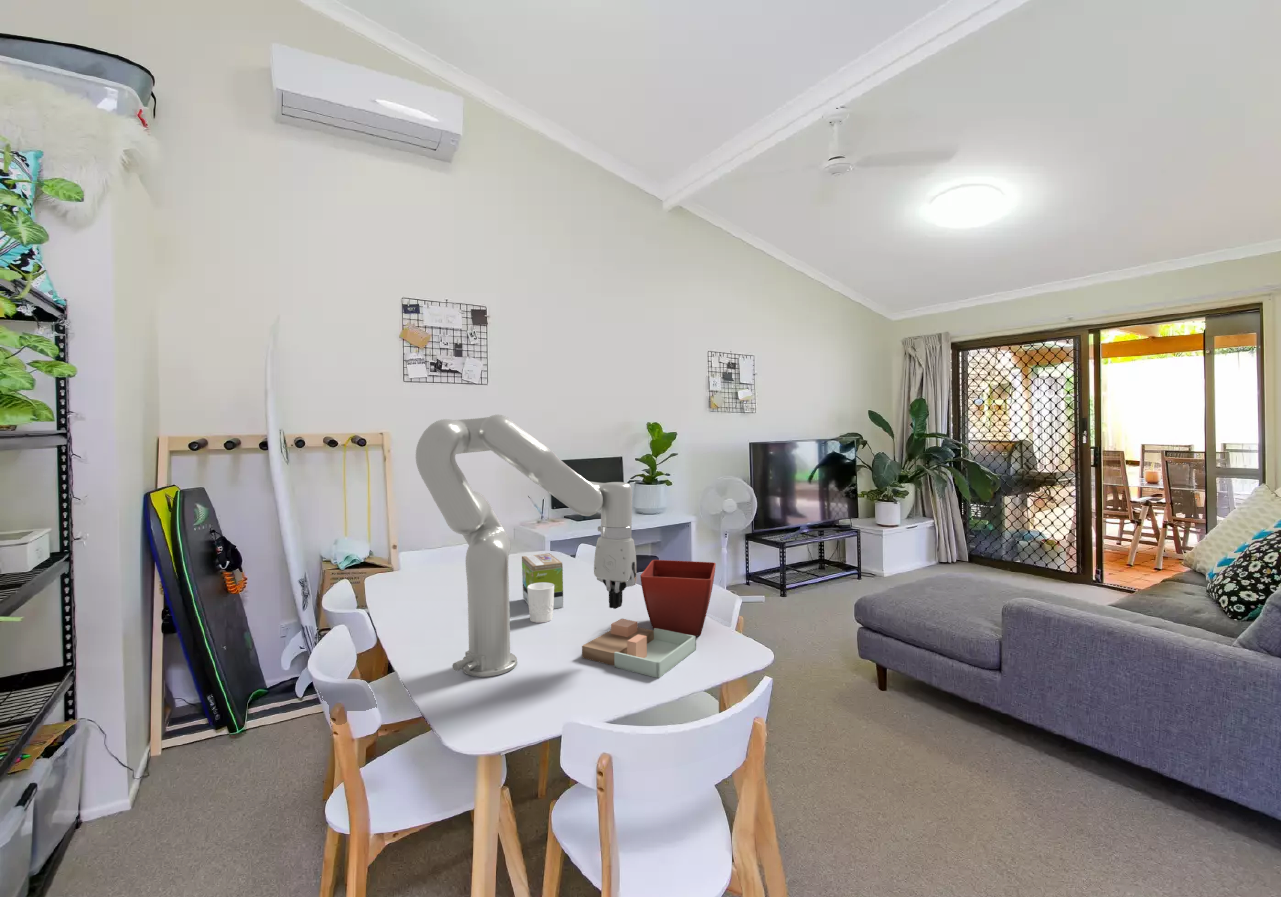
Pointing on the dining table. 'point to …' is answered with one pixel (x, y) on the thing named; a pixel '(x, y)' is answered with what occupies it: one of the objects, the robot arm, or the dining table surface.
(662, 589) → the plant pot
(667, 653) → the tray
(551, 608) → the white cup
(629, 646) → the tile
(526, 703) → the dining table surface
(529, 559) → the tea box
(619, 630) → the tile
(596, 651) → the board
